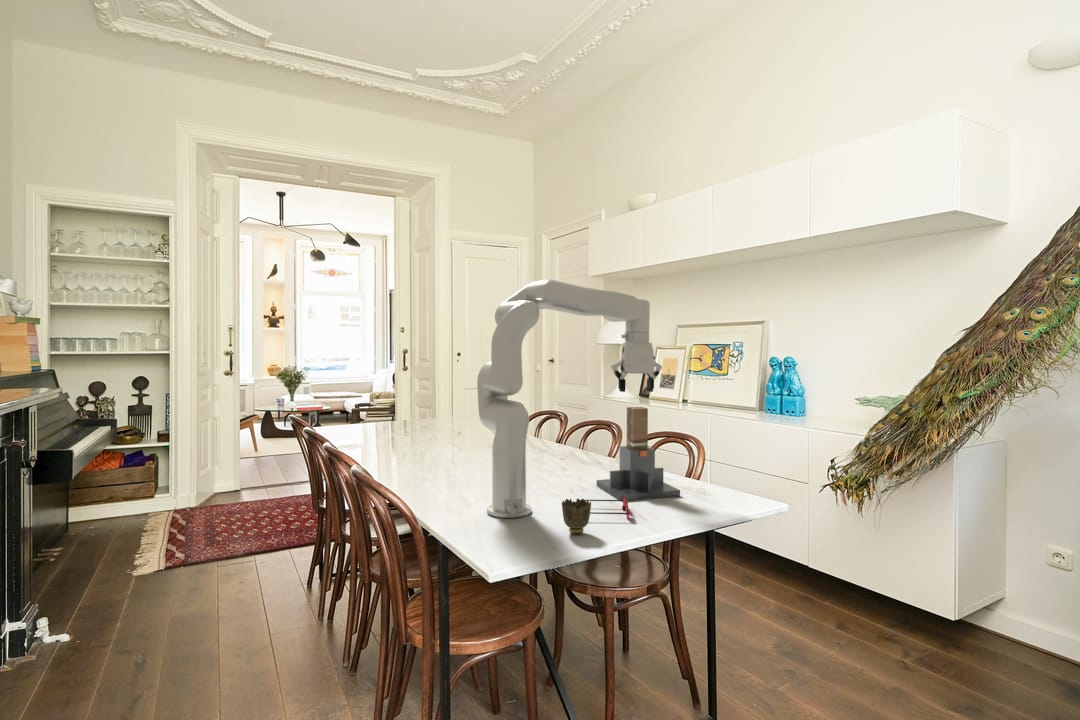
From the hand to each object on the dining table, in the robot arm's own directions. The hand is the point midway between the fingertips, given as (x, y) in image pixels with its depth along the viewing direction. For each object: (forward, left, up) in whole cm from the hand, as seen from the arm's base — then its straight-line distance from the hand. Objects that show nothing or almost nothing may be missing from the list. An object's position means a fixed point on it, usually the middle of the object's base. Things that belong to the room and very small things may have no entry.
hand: (636, 391), depth 193 cm
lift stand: (0, 0, -32) cm, 32 cm away
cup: (-35, +33, -33) cm, 58 cm away
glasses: (-20, +21, -33) cm, 44 cm away
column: (0, 0, -24) cm, 24 cm away
